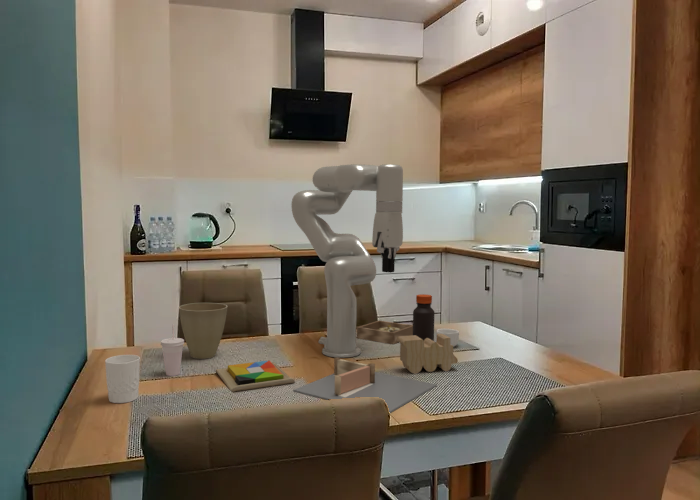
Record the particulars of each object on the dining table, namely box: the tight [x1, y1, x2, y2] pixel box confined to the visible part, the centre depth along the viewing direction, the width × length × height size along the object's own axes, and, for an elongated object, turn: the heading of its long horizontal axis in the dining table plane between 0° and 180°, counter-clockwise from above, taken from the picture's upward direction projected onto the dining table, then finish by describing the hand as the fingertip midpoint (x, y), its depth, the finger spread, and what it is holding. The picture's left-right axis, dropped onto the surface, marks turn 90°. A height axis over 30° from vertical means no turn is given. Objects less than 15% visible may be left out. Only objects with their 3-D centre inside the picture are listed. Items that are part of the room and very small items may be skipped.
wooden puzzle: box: [215, 360, 295, 393], centre depth 154 cm, size 18×19×4 cm
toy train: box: [397, 334, 459, 375], centre depth 163 cm, size 6×17×10 cm, turn 104°
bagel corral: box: [356, 319, 413, 345], centre depth 204 cm, size 16×16×4 cm
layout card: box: [293, 371, 438, 414], centre depth 146 cm, size 28×26×1 cm
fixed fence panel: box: [333, 357, 376, 384], centre depth 153 cm, size 13×2×5 cm, turn 55°
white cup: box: [104, 354, 141, 404], centre depth 136 cm, size 8×8×10 cm
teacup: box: [435, 328, 460, 348], centre depth 193 cm, size 10×8×5 cm
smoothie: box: [160, 324, 185, 377], centre depth 156 cm, size 6×6×14 cm
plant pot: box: [178, 302, 228, 360], centre depth 176 cm, size 15×15×16 cm
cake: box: [378, 325, 400, 332], centre depth 203 cm, size 10×10×5 cm
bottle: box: [412, 293, 436, 342], centre depth 176 cm, size 7×7×20 cm
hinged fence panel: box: [335, 366, 370, 395], centre depth 144 cm, size 13×2×4 cm, turn 139°
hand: (388, 271), depth 160 cm, fingers closed
